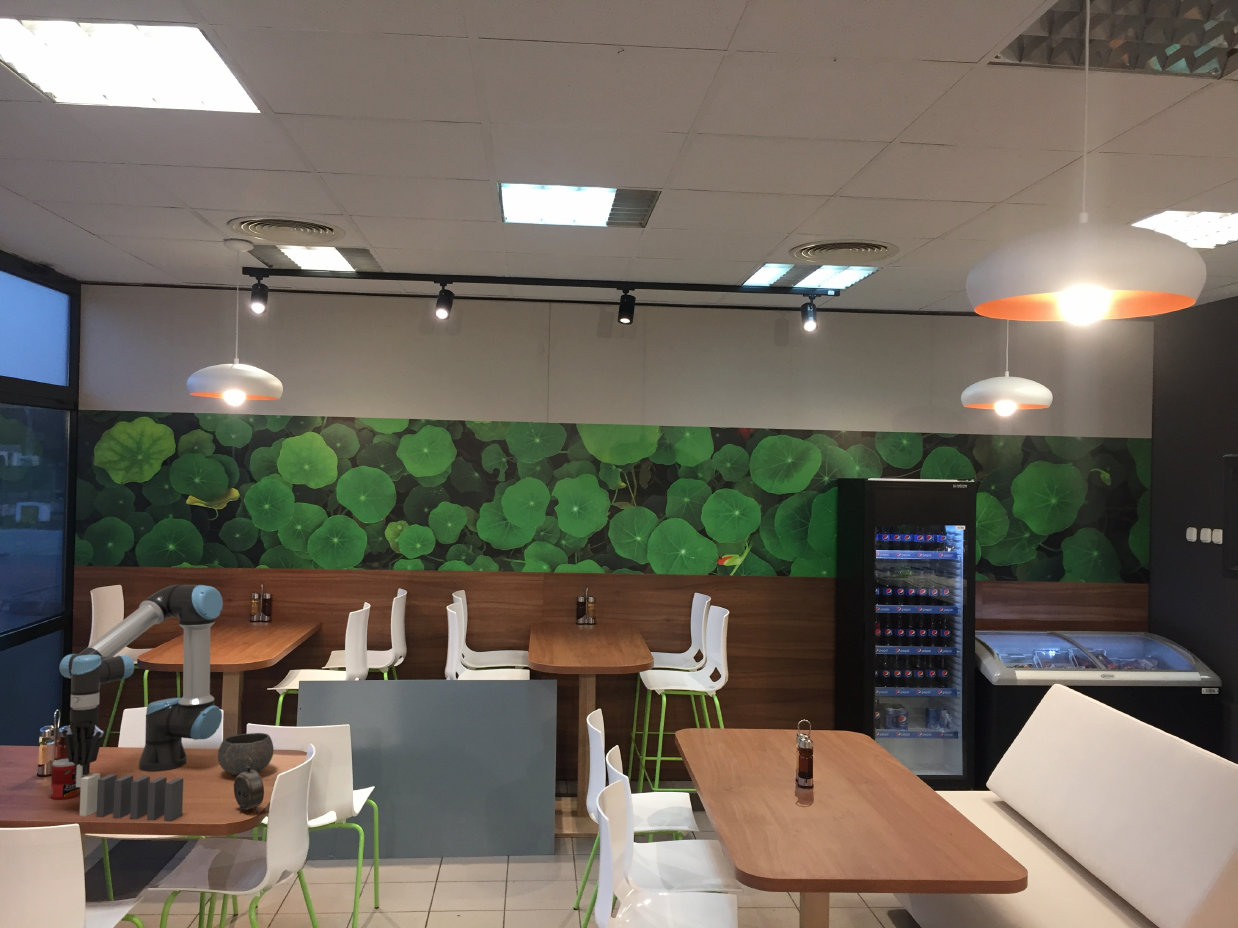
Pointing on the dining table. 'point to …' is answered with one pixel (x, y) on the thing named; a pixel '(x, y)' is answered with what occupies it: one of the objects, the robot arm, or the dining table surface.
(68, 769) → the canned food
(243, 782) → the alarm clock
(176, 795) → the tile
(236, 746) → the bowl
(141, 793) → the tile
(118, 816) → the tile
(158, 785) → the tile
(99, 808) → the tile
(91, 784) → the tile
